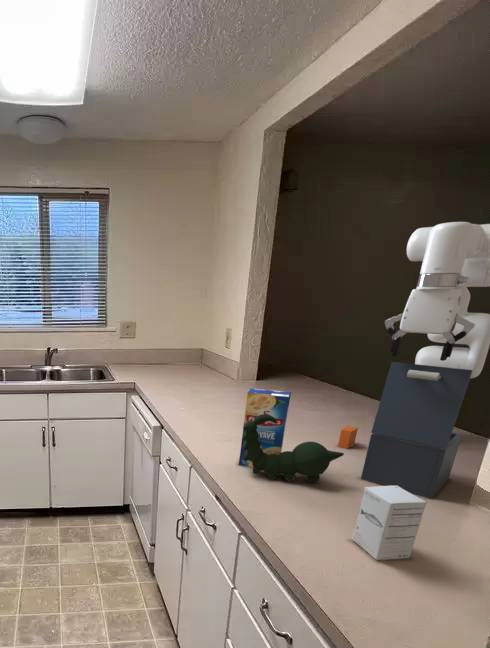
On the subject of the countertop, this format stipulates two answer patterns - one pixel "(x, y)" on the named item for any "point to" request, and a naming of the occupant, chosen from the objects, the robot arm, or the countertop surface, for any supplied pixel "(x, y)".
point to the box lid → (421, 403)
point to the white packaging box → (388, 522)
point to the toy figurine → (285, 455)
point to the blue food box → (268, 431)
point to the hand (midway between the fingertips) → (418, 357)
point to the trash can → (409, 464)
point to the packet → (347, 437)
